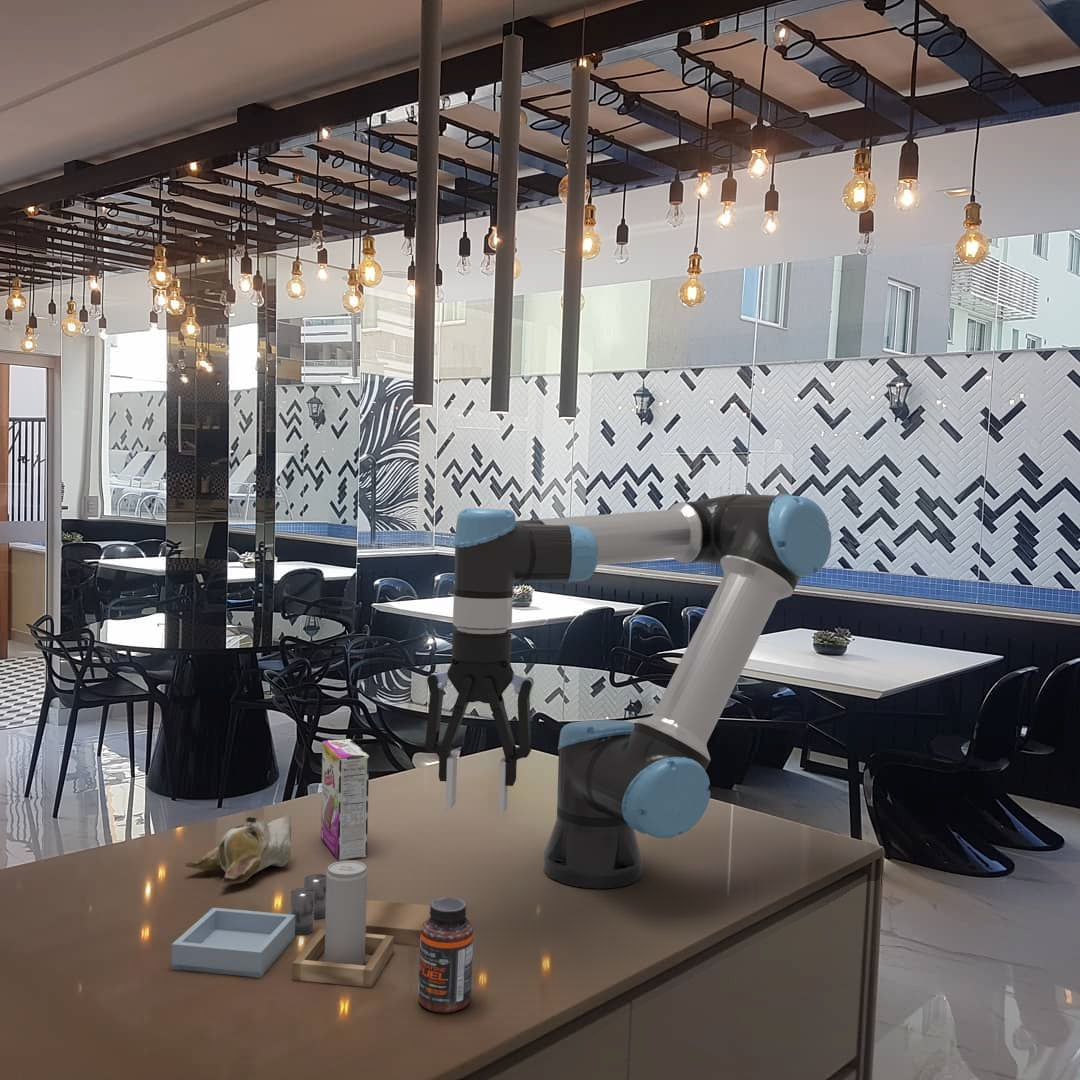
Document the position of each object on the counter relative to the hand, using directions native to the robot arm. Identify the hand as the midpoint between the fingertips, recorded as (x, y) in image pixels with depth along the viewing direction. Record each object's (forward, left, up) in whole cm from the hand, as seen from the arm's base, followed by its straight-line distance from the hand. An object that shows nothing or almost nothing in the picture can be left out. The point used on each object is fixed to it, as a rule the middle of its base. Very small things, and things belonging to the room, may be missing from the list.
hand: (476, 807), depth 133 cm
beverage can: (+14, +11, -17) cm, 24 cm away
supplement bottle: (0, +17, -17) cm, 24 cm away
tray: (+28, +10, -17) cm, 34 cm away
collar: (+14, +11, -17) cm, 24 cm away
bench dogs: (+22, 0, -17) cm, 28 cm away
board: (+11, 0, -17) cm, 20 cm away
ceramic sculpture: (+37, -15, -17) cm, 43 cm away
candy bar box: (+27, -28, -17) cm, 42 cm away
